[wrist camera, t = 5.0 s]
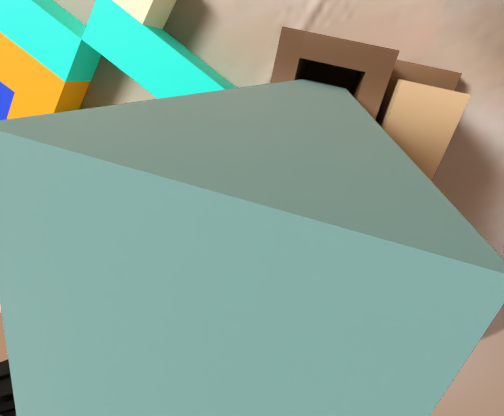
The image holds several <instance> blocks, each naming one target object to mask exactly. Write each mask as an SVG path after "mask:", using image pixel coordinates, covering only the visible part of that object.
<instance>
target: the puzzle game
mask: <svg viewBox="0 0 504 416" xmlns="http://www.w3.org/2000/svg"><path fill="white" fill-rule="evenodd" d="M176 1H177V0H96V2H95V4H94V7H93V10H92V12H91V15H90V18H89V20H88V23H87V26H85V25H84V24H83V23H81V22H80V21H79V20H77V19H76V18H75V17H74V16H72V15H71V14H70V13H68V12H67V11H66V10H65V9H63V8H62V7H61V6H60V5H58V4H57V3H56V2H54V1H53V0H0V120H7V119H14V118H21V117H29V116H36V115H43V114H51V113H58V112H65V111H73V110H79V109H80V106H81V104H82V101H83V99H84V96H85V94H86V92H87V89H88V87H89V84H90V82H91V80H92V77H93V75H94V72H95V70H96V67H97V65H98V63H99V60H100V58H101V55H102V56H104V57H105V58H106V59H108V60H109V61H110V62H111V63H113V64H114V65H115V66H117V67H118V68H119V69H120V70H122V71H123V72H124V73H126V74H127V75H128V76H129V77H131V78H132V79H133V80H135V81H136V82H137V83H138V84H140V85H141V86H142V87H144V88H145V89H146V90H147V91H149V92H150V93H151V94H153V95H154V96H155V97H156V98H158V99H161V98H168V97H175V96H183V95H190V94H197V93H205V92H212V91H219V90H227V89H234V88H236V87H235V86H234V85H232V84H231V83H230V82H229V81H227V80H226V79H225V78H224V77H222V76H221V75H220V74H219V73H217V72H216V71H215V70H213V69H212V68H211V67H210V66H208V65H207V64H206V63H205V62H203V61H202V60H201V59H200V58H198V57H197V56H196V55H195V54H193V53H192V52H191V51H190V50H188V49H187V48H186V47H184V46H183V45H182V44H181V43H179V42H178V41H177V40H176V39H174V38H173V37H172V36H171V35H169V34H168V33H167V32H166V31H164V30H163V28H164V25H165V23H166V21H167V19H168V17H169V15H170V13H171V11H172V9H173V7H174V5H175V3H176Z"/></svg>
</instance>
